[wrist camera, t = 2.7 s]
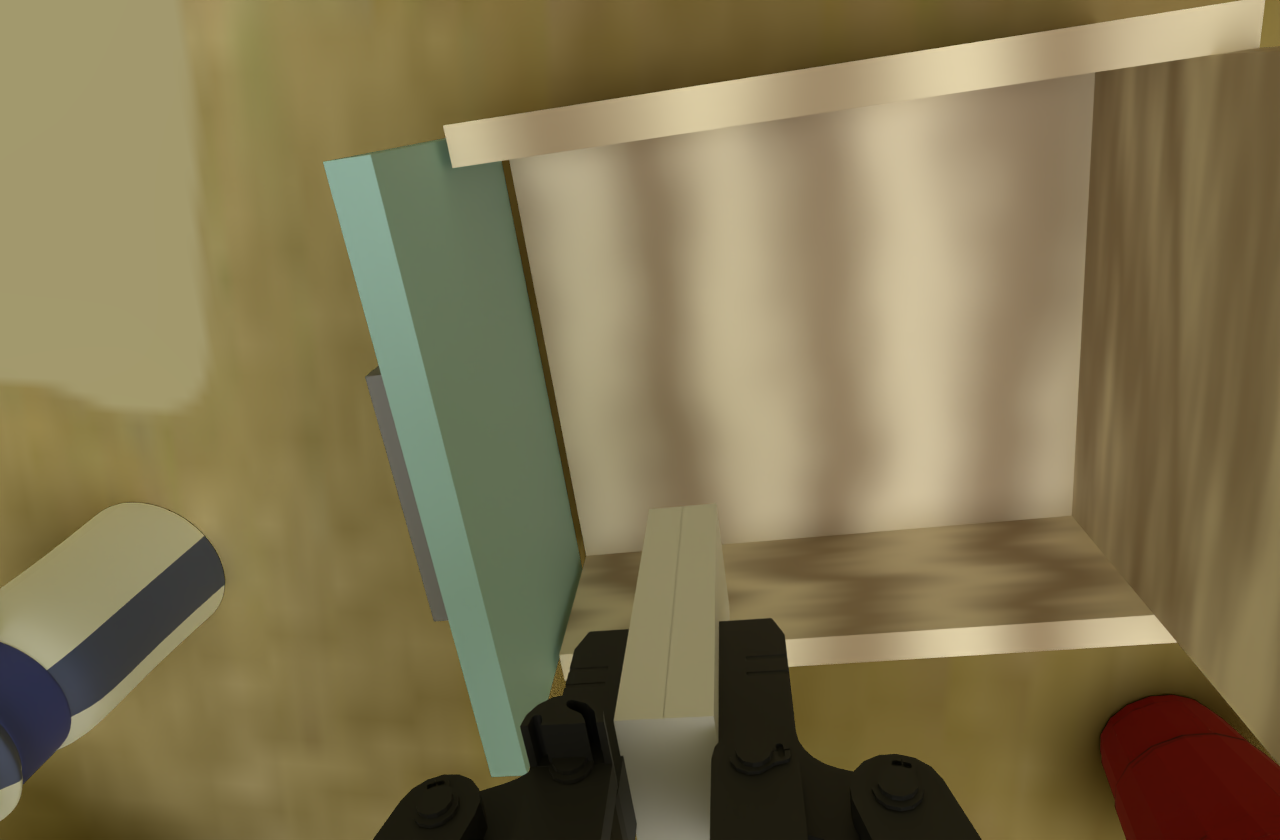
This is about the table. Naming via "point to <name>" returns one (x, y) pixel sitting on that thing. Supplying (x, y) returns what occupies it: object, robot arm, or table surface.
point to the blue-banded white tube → (95, 628)
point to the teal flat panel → (465, 420)
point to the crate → (933, 342)
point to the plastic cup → (1187, 774)
